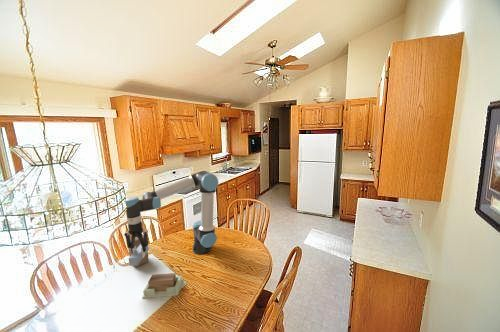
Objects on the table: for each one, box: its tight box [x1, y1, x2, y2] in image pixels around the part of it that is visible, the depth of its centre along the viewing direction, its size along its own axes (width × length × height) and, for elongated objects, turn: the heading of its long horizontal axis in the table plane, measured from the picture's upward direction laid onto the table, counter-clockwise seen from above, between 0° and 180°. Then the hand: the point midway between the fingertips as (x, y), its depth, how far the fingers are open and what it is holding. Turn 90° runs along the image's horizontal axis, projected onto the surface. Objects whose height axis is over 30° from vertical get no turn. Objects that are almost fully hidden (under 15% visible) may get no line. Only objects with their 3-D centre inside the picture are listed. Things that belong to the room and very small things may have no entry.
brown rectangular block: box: [147, 272, 177, 292], centre depth 125 cm, size 6×14×7 cm, turn 95°
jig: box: [141, 275, 184, 299], centre depth 126 cm, size 13×20×4 cm, turn 94°
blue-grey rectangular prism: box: [128, 244, 149, 267], centre depth 131 cm, size 16×4×5 cm, turn 4°
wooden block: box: [127, 233, 150, 268], centre depth 151 cm, size 10×10×20 cm
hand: (139, 256), depth 131 cm, fingers closed on blue-grey rectangular prism, 4 cm apart
